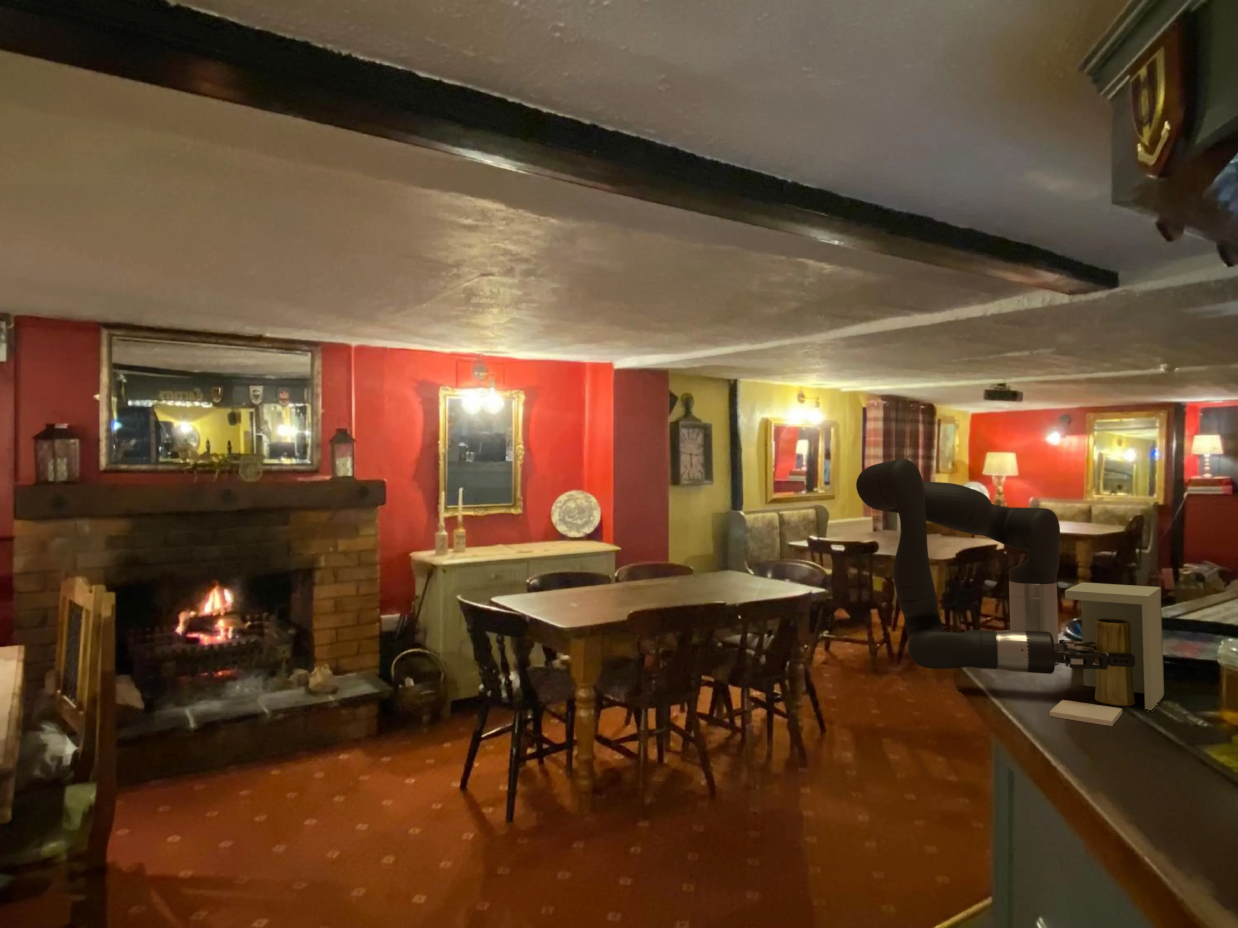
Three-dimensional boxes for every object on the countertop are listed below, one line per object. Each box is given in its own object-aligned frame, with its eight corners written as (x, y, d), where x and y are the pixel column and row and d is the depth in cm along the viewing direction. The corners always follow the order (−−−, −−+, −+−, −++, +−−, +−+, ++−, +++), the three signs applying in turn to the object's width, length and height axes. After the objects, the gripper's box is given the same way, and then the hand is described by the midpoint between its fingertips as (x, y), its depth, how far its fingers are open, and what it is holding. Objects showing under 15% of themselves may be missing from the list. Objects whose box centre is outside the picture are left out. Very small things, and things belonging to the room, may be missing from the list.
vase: (1141, 701, 142) (1138, 620, 143) (1126, 708, 139) (1124, 624, 139) (1103, 694, 147) (1101, 616, 148) (1088, 700, 144) (1086, 620, 144)
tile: (1062, 704, 142) (1062, 699, 142) (1122, 713, 136) (1122, 708, 136) (1049, 716, 135) (1049, 711, 135) (1111, 726, 129) (1111, 720, 129)
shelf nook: (1085, 683, 155) (1082, 582, 156) (1164, 694, 147) (1160, 587, 147) (1067, 699, 145) (1064, 590, 145) (1152, 711, 136) (1148, 596, 137)
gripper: (1027, 637, 142) (1139, 643, 136) (1018, 624, 155) (1120, 628, 149) (1028, 680, 141) (1141, 688, 135) (1019, 663, 155) (1121, 669, 149)
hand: (1129, 656), depth 142 cm, fingers closed on vase, 5 cm apart
